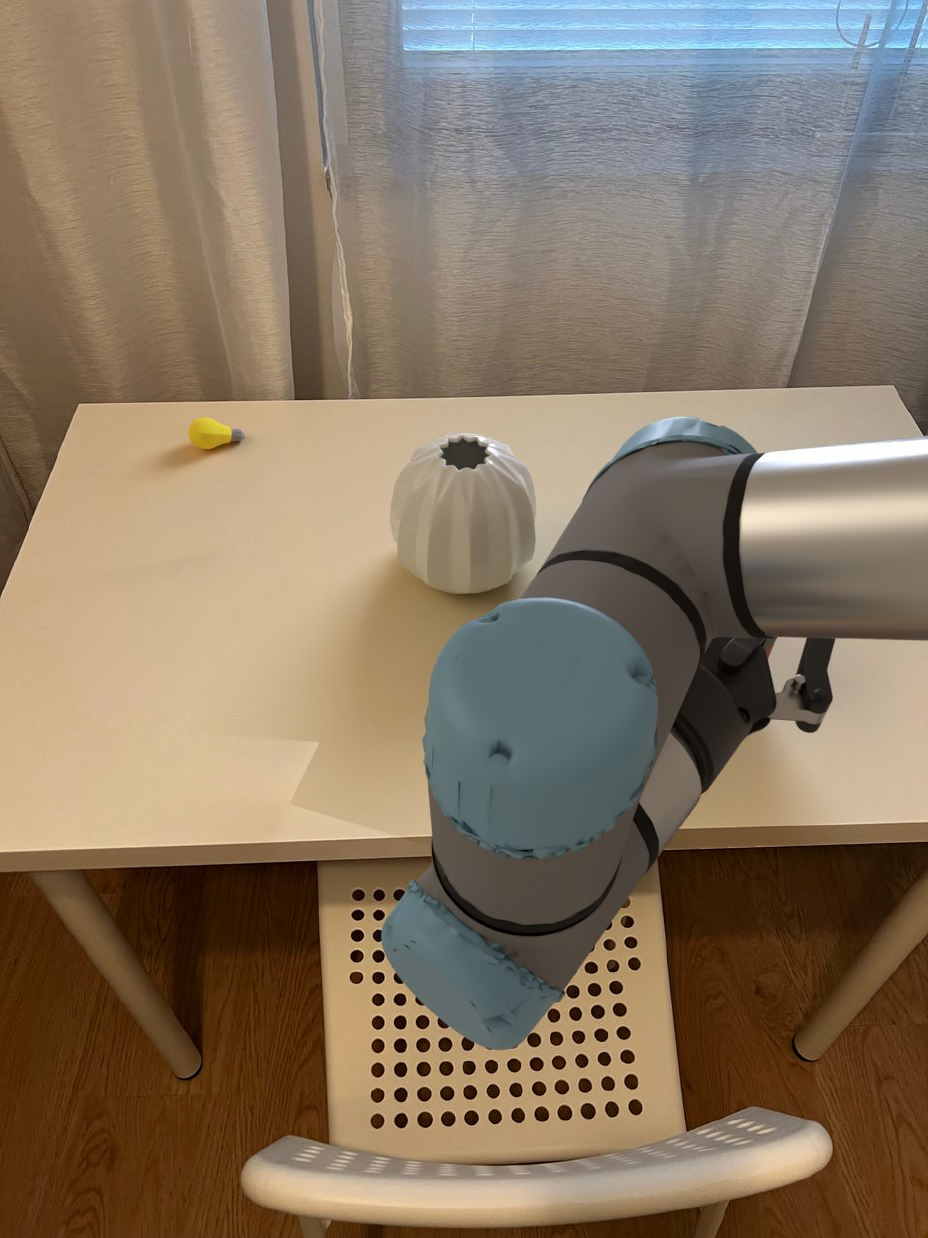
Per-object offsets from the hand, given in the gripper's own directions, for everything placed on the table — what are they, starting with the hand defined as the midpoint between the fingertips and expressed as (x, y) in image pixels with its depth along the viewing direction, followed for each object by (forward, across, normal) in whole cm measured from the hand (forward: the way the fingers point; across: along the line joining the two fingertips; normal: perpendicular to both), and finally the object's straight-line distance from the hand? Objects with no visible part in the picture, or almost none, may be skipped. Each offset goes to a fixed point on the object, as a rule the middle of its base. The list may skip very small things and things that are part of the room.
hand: (839, 497), depth 58 cm
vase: (+2, -32, -27) cm, 41 cm away
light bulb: (-1, -64, -26) cm, 69 cm away
